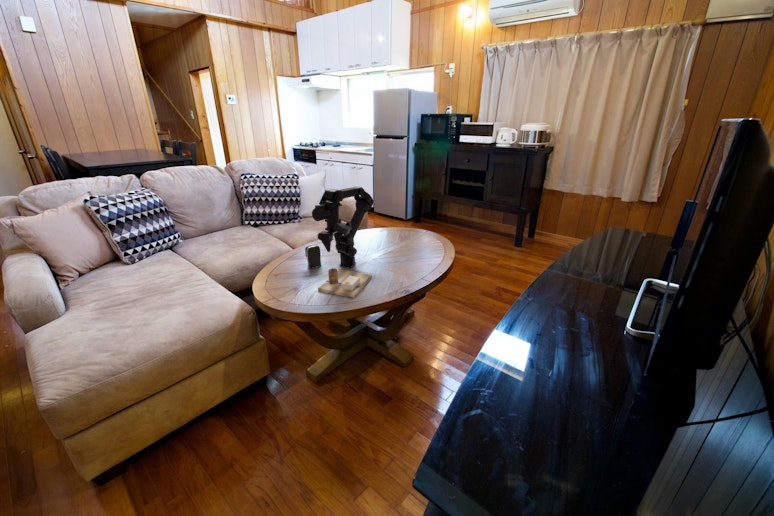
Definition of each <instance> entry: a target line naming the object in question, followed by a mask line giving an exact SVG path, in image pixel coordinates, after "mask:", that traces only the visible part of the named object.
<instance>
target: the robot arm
mask: <svg viewBox="0 0 774 516" xmlns="http://www.w3.org/2000/svg"><path fill="white" fill-rule="evenodd" d="M352 197H353V199H354V200H355V211H354V213H353V215H352V217H351V218H350V221H347V222H346V223H345V222H342V219H341V218H340V207H342V206H343V205H342V203H341V202H343V200H344V199H348V198H349V199H350V198H352ZM373 206H374V199H373V197H372V196H371V194H369V193H368V192H367V191H366V190H365V189H364V188H363V187H361V186H353V187H348V188H347V187H346V188H342V189H335V188H326V189H325V190H324V192H323V194H322V197H321V198H320V201H319V203H318V204H315V205H314V208H313V209H312V212H311V217H312V219H313V220H314V221H316V222H321V221H324V223H325V222H326V227H325V228H324V230H322V231H320V232H318V233H317V240H319V241H321V243H322V244H323V246H324V248H325V250H326V252H327V253H330V252H331V246H332V245H331V244H332V242H333V240H335V250H336V252H337V254H339V255H340V256H339V258H340V264H339V265H338V266H339V267H343V268H350V269H351V268H352V267H353V266H355V264H357V263H356V255H357V251H358V250H357V248H355V247H354V246H355V240H354V239H355V236H356V233H357V231H358V229H359V227H360V225H361V223H362V221H363V218H364V217H365V215H366V213H367V212H369V211H370V210H371V209H372V207H373Z"/></svg>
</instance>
